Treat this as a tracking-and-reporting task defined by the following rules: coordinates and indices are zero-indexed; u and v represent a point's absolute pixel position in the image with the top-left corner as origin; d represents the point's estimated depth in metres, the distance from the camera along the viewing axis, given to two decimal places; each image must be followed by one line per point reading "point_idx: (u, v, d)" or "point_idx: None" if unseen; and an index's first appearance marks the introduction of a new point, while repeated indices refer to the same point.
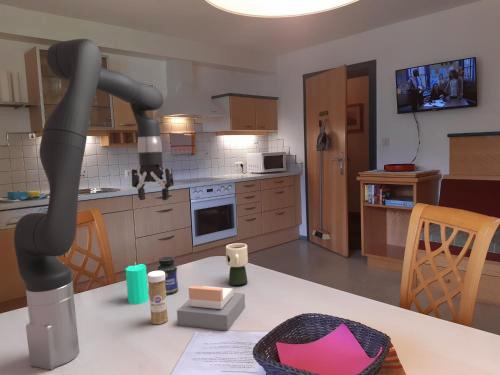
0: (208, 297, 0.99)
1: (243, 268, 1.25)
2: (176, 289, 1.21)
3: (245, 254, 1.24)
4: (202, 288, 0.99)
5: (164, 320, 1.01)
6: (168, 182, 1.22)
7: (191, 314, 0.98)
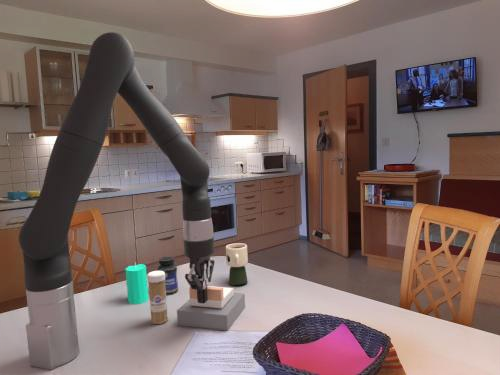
0: (209, 296, 0.99)
1: (243, 268, 1.25)
2: (176, 289, 1.21)
3: (245, 254, 1.24)
4: None
5: (164, 320, 1.01)
6: (210, 276, 0.99)
7: (191, 314, 0.98)
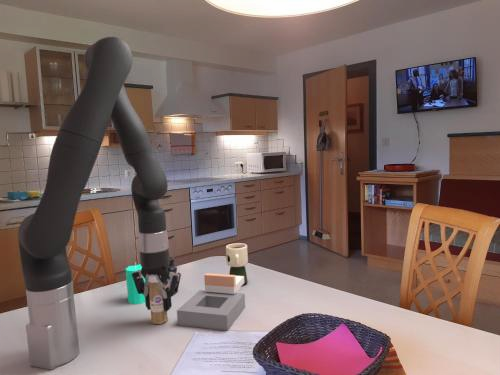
0: (222, 283, 1.08)
1: (243, 268, 1.25)
2: None
3: (245, 254, 1.24)
4: (217, 275, 1.09)
5: (164, 320, 1.01)
6: None
7: (191, 314, 0.98)
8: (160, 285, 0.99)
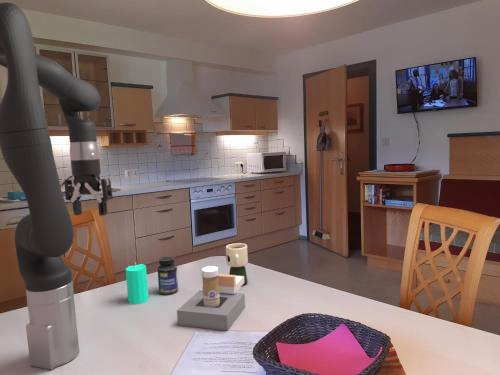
0: (222, 283, 1.08)
1: (243, 268, 1.25)
2: (176, 289, 1.21)
3: (245, 254, 1.24)
4: None
5: None
6: None
7: (191, 314, 0.98)
8: (92, 191, 1.05)
